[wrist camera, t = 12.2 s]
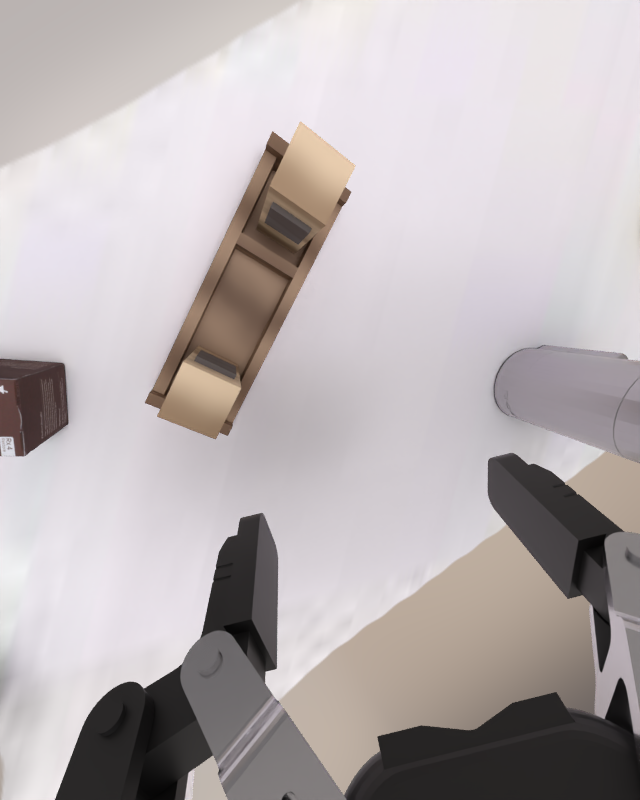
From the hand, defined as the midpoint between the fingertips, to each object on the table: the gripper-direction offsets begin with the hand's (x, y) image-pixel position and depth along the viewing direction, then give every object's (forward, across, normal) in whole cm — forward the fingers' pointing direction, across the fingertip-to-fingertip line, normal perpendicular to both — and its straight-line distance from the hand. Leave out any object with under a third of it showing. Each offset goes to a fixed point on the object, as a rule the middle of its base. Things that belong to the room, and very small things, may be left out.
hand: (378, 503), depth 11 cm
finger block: (+26, 0, -11) cm, 28 cm away
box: (+21, +26, -2) cm, 34 cm away
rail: (+25, +6, -5) cm, 26 cm away
